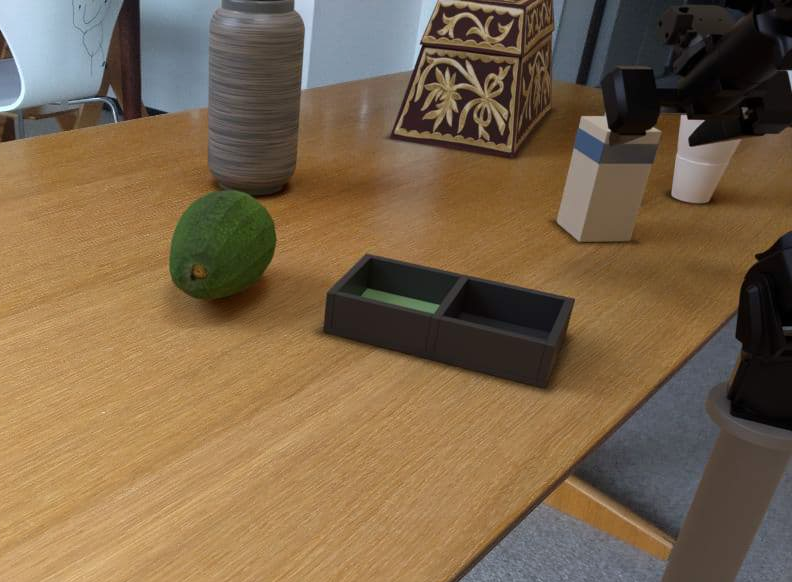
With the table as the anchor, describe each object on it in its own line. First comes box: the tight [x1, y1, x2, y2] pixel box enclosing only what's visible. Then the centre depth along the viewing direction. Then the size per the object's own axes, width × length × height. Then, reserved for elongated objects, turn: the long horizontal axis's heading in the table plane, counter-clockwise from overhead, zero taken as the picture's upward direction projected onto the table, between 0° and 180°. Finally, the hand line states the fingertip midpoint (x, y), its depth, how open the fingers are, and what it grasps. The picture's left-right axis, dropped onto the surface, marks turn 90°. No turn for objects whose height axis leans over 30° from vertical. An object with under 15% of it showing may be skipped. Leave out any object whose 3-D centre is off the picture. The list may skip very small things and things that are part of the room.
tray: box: [322, 253, 576, 389], centre depth 81 cm, size 20×11×4 cm, turn 64°
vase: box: [207, 0, 306, 196], centre depth 110 cm, size 12×12×23 cm
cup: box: [670, 115, 742, 204], centre depth 115 cm, size 11×11×18 cm
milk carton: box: [556, 112, 662, 243], centre depth 103 cm, size 6×7×14 cm
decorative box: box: [389, 0, 556, 159], centre depth 143 cm, size 35×19×20 cm, turn 155°
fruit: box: [168, 190, 278, 301], centre depth 85 cm, size 15×10×10 cm, turn 158°
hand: (650, 142), depth 94 cm, fingers open, 9 cm apart
